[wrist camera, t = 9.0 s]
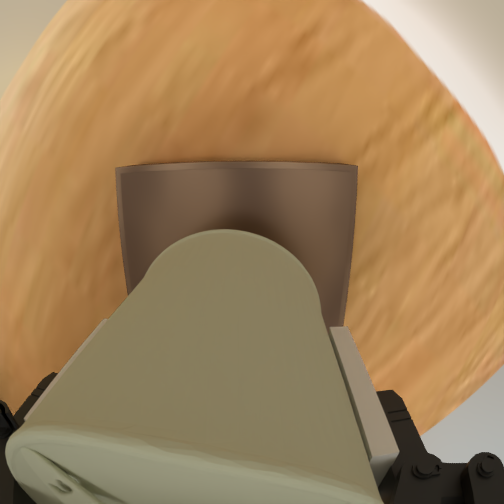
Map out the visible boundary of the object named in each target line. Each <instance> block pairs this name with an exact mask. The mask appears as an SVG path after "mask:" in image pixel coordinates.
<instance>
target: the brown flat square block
mask: <svg viewBox="0 0 504 504" xmlns="http://www.w3.org/2000/svg"><path fill="white" fill-rule="evenodd" d="M357 175H358V166H356V165H348V164H339V163H321V162H296V161H201V162H176V163H158V164H143V165H133V166H125V167H117V168H116V189H117V204H118V217H119V228H120V238H121V247H122V256H123V264H124V271H125V278H126V285H127V292H128V296H129V294H130V293H131V292H132V291H133V290H134V289H135V287H136V286H137V285H138V284H139V283H140V281H141V280H142V279H143V278H144V276H145V274H146V272H147V271H148V269H149V267H150V266H151V264H152V263H153V262H154V260H155V259H156V258H157V257H158V256H159V255H160V254H161V253H162V252H163V251H164V250H165V249H166V248H168V247H169V246H170V245H172V244H174V243H175V242H177V241H179V240H181V239H183V238H185V237H187V236H189V235H192V234H195V233H199V232H203V231H208V230H217V229H231V230H240V231H246V232H250V233H254V234H257V235H260V236H263V237H265V238H268V239H270V240H272V241H274V242H276V243H277V244H279V245H281V246H282V247H284V248H285V249H286V250H288V251H289V252H290V253H291V254H293V255H294V256H295V257H296V258H297V259H298V260H299V261H300V262H301V264H302V265H303V266H304V267H305V269H306V270H307V272H308V273H309V274H310V276H311V278H312V280H313V282H314V284H315V286H316V289H317V292H318V295H319V299H320V304H321V314H322V317H323V320H324V323H325V326H326V329H327V333H328V336H329V328H330V327H343V323H344V316H345V309H346V302H347V294H348V286H349V278H350V269H351V259H352V249H353V238H354V226H355V212H356V196H357Z"/></svg>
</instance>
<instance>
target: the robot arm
mask: <svg viewBox="0 0 504 504" xmlns="http://www.w3.org/2000/svg"><path fill="white" fill-rule="evenodd" d="M107 320H108V319H103V320H102V321H101V322H100V324H99V325H98V326H97V327H96V328H95V329H94V331H93V332H92V333H91V334H90V335H89V337H88V338H87V339H86V340H85V341H84V342H83V344H82V345H81V346H80V347H79V348H78V350H77V351H76V352H75V353H74V355H73V356H72V357H71V358H70V359H69V361H68V362H67V363H66V364H65V366H64V367H63V368H62V369H61V371H60V372H59V373H54V372H53V373H51V374H50V375H48V376H47V377H45V378H44V379H43V380H42V381H41V382H40V383H39V384H38V386H37V388H36V389H34V391H33V392H32V393H31V395H30V396H29V397H28V398H27V399H26V401H25V402H24V403H23V405H22V406H21V407H20V408H19V410H18V411H17V412H16V414H15V415H14V416H13V415H12V413H11V411H10V410H9V408H8V406H7V404H6V403H5V402H3V401H1V400H0V504H37V503H36V502H35V501H34V500H33V499H32V498H31V497H30V496H29V495H28V494H27V493H26V492H25V491H24V490H23V489H22V488H21V486H20V485H19V484H18V483H17V481H16V479H15V478H14V476H13V475H12V473H11V471H10V469H9V466H8V464H7V460H6V455H5V449H6V444H7V442H8V440H9V437H10V436H11V435H12V434H13V433H14V432H15V431H17V430H18V429H19V428H20V427H21V426H22V425H23V424H24V422H25V421H26V420H27V419H28V417H29V416H30V415H31V414H32V412H33V411H34V410H35V409H36V408H37V406H38V405H39V404H40V403H41V401H42V400H43V399H44V397H45V396H46V395H47V394H48V392H49V391H50V390H51V389H52V387H53V386H54V385H55V383H56V382H57V381H58V380H59V378H60V377H61V376H62V375H63V373H64V372H65V371H66V370H67V369H68V367H69V366H70V365H71V364H72V362H73V361H74V360H75V359H76V358H77V356H78V355H79V354H80V353H81V352H82V350H83V349H84V348H85V347H86V346H87V344H88V343H89V342H90V341H91V339H92V338H93V337H94V336H95V335H96V333H97V332H98V331H99V330H100V329H101V327H102V326H103V325H104V324H105V323H106V321H107ZM329 338H330V341H331V344H332V347H333V350H334V353H335V356H336V359H337V362H338V365H339V368H340V371H341V374H342V378H343V381H344V384H345V387H346V390H347V393H348V396H349V399H350V403H351V406H352V409H353V412H354V416H355V419H356V422H357V425H358V428H359V431H360V434H361V437H362V441H363V444H364V447H365V450H366V453H367V457H368V460H369V463H370V467H371V470H372V473H373V476H374V479H375V482H376V485H377V488H378V491H379V494H380V497H381V499H382V501H383V503H384V504H504V467H503V464H502V462H501V460H500V459H499V458H498V457H497V456H496V455H494V454H491V453H489V452H481V453H479V454H476V455H475V456H474V457H473V458H471V460H470V461H469V462H468V463H442V462H441V460H440V459H439V458H438V457H436V456H435V455H433V454H429V453H428V452H427V451H426V449H425V447H424V444H423V442H422V440H421V438H420V436H419V433H418V431H417V429H416V427H415V425H414V423H413V420H411V416H410V414H409V412H408V411H407V408H406V406H405V404H404V402H403V400H402V398H401V397H400V396H399V395H398V394H396V393H395V392H394V391H393V390H386V391H378V392H376V391H375V389H374V386H373V384H372V381H371V379H370V377H369V374H368V372H367V370H366V367H365V365H364V363H363V360H362V358H361V356H360V353H359V351H358V349H357V347H356V344H355V342H354V340H353V338H352V335H351V333H350V331H349V329H348V326H343V327H330V328H329Z"/></svg>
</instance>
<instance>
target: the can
mask: <svg viewBox="0 0 504 504" xmlns="http://www.w3.org/2000/svg"><path fill="white" fill-rule="evenodd" d="M5 455H6V460H7V464H8V466H9V469H10V471H11V473H12V475H13V476H14V478H15V479H16V481H17V483H18V484H19V485H20V486H21V488H22V489H23V490H24V491H25V492H26V493H27V494H28V495H29V496H30V497H31V498H32V499H33V500H34V501H35V502H36V503H37V504H384V503H383V501H382V499H381V497H380V494H379V491H378V488H377V485H376V482H375V479H374V476H373V473H372V470H371V467H370V463H369V460H368V457H367V453H366V450H365V447H364V444H363V441H362V437H361V434H360V431H359V428H358V425H357V422H356V419H355V416H354V412H353V409H352V406H351V403H350V399H349V396H348V393H347V390H346V387H345V384H344V381H343V378H342V374H341V371H340V368H339V365H338V362H337V359H336V356H335V353H334V350H333V347H332V344H331V341H330V338H329V336H328V333H327V329H326V326H325V323H324V320H323V317H322V314H321V304H320V299H319V295H318V292H317V289H316V286H315V284H314V282H313V280H312V278H311V276H310V274H309V273H308V272H307V270H306V269H305V267H304V266H303V265H302V264H301V262H300V261H299V260H298V259H297V258H296V257H295V256H294V255H293V254H291V253H290V252H289V251H288V250H286V249H285V248H284V247H282V246H281V245H279V244H277V243H276V242H274V241H272V240H270V239H268V238H265V237H263V236H260V235H257V234H254V233H250V232H246V231H240V230H231V229H217V230H208V231H203V232H199V233H195V234H192V235H189V236H187V237H185V238H183V239H181V240H179V241H177V242H175V243H174V244H172V245H170V246H169V247H168V248H166V249H165V250H164V251H163V252H162V253H161V254H160V255H159V256H158V257H157V258H156V259H155V260H154V262H153V263H152V264H151V266H150V267H149V269H148V271H147V272H146V274H145V276H144V278H143V279H142V280H141V281H140V283H139V284H138V285H137V286H136V287H135V289H134V290H133V291H132V292H131V293H130V294H129V296H128V297H127V298H126V299H125V300H124V301H123V303H122V304H121V305H120V306H119V307H118V308H117V310H116V311H115V312H114V313H113V314H112V315H111V317H110V318H109V319H108V320H107V321H106V323H105V324H104V325H103V326H102V327H101V329H100V330H99V331H98V332H97V333H96V335H95V336H94V337H93V338H92V339H91V341H90V342H89V343H88V344H87V346H86V347H85V348H84V349H83V350H82V352H81V353H80V354H79V355H78V356H77V358H76V359H75V360H74V361H73V362H72V364H71V365H70V366H69V367H68V369H67V370H66V371H65V372H64V373H63V375H62V376H61V377H60V378H59V380H58V381H57V382H56V383H55V385H54V386H53V387H52V389H51V390H50V391H49V392H48V394H47V395H46V396H45V397H44V399H43V400H42V401H41V403H40V404H39V405H38V406H37V408H36V409H35V410H34V411H33V412H32V414H31V415H30V416H29V417H28V419H27V420H26V421H25V422H24V424H23V425H22V426H21V427H20V428H19V429H18V430H17V431H15V432H14V433H13V434H12V435H11V436H10V437H9V440H8V442H7V444H6V449H5Z"/></svg>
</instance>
